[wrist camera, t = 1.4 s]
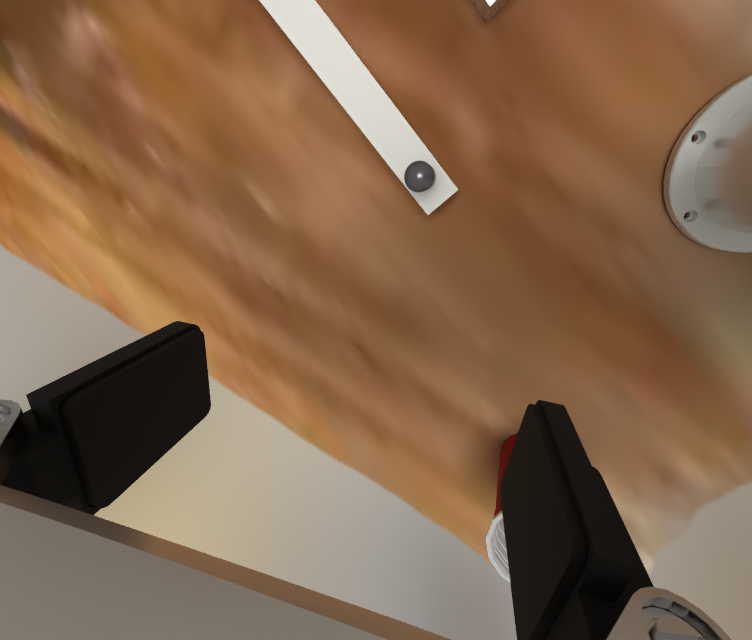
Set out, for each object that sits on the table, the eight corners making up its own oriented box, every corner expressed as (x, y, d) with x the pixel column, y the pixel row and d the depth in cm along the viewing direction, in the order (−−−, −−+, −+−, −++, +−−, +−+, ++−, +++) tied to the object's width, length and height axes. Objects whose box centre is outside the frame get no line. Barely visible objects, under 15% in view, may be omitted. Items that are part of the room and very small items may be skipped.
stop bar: (249, -88, 26) (177, -183, 19) (457, 189, 30) (459, 190, 23) (226, -49, 27) (151, -126, 21) (430, 212, 31) (424, 220, 24)
